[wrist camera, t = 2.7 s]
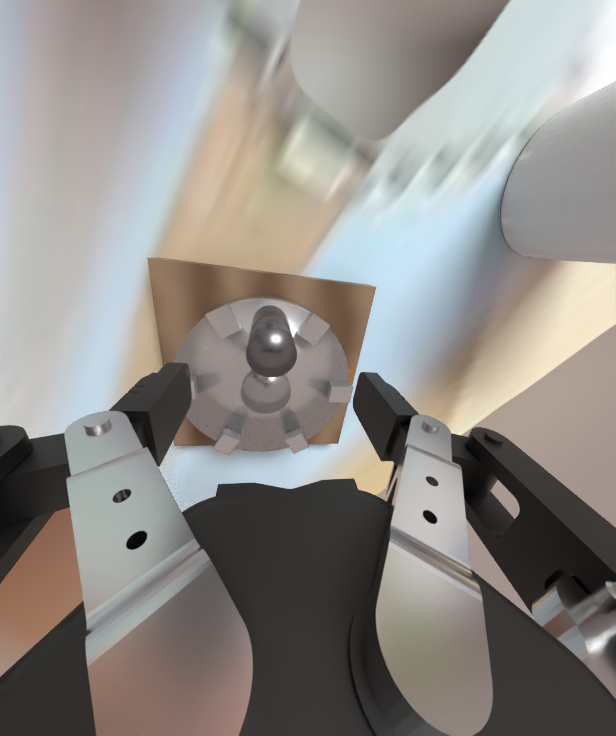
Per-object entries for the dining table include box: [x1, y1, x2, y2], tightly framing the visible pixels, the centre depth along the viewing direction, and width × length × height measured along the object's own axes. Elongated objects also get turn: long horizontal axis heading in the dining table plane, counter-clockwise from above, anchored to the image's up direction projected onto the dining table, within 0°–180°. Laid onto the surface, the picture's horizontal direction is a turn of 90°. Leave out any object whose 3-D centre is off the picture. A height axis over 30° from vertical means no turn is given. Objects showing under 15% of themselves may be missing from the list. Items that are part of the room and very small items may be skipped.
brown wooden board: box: [148, 258, 376, 446], centre depth 28 cm, size 22×22×2 cm
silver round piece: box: [174, 295, 353, 455], centre depth 22 cm, size 18×18×11 cm
